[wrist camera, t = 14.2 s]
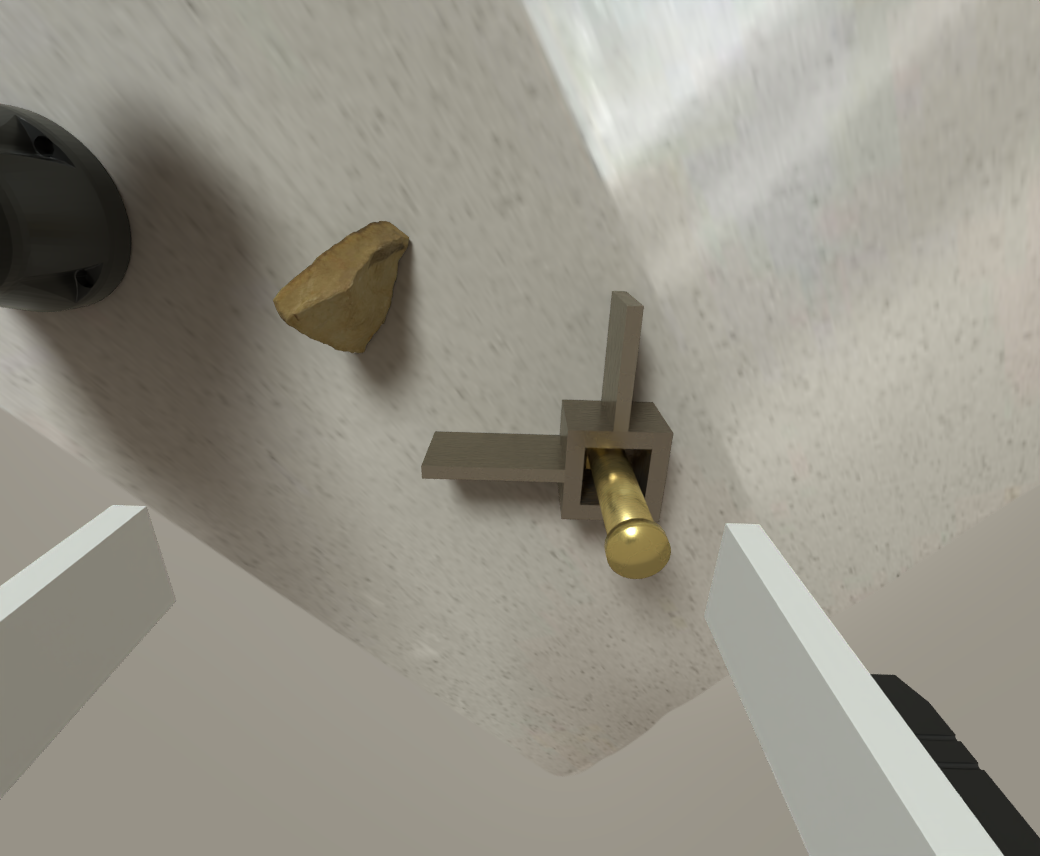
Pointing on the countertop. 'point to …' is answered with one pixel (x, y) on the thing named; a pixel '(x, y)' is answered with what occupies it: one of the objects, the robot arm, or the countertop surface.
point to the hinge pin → (626, 516)
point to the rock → (346, 288)
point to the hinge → (574, 435)
